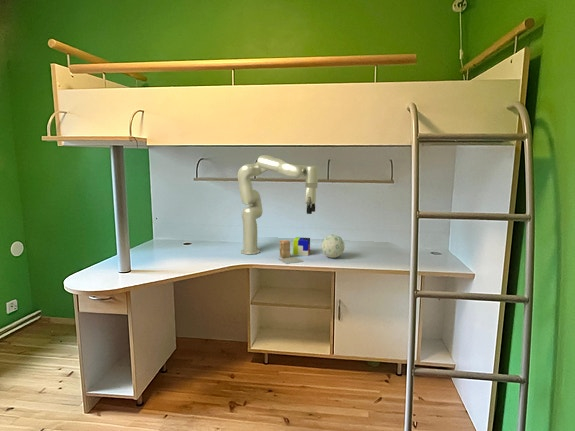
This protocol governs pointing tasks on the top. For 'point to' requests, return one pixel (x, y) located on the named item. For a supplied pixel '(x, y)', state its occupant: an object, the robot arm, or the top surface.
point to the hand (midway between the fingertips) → (310, 212)
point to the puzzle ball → (332, 246)
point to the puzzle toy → (301, 246)
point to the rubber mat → (291, 260)
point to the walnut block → (284, 249)
